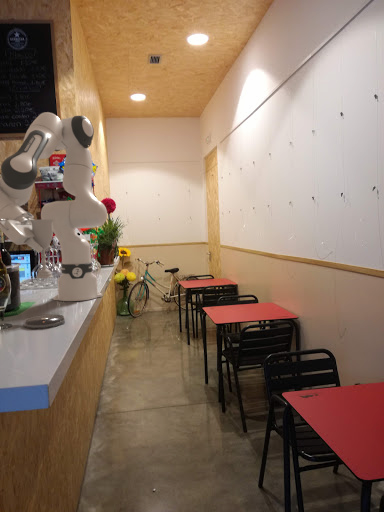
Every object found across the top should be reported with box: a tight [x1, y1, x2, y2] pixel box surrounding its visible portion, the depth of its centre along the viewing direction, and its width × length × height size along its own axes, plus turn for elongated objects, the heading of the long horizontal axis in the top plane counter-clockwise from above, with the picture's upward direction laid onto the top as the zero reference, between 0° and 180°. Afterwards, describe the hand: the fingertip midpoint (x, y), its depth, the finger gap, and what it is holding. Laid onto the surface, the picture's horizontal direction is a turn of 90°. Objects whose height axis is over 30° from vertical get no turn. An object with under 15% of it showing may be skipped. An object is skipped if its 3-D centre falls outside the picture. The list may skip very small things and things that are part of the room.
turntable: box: [24, 314, 66, 330], centre depth 111 cm, size 11×11×2 cm
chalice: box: [30, 219, 54, 279], centre depth 119 cm, size 7×7×18 cm
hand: (45, 250), depth 119 cm, fingers closed on chalice, 5 cm apart
